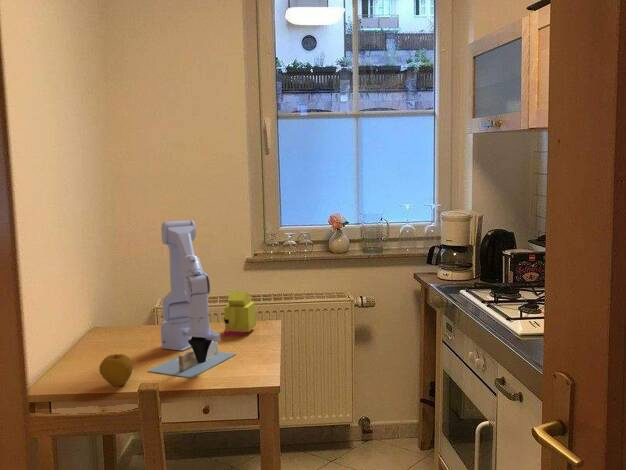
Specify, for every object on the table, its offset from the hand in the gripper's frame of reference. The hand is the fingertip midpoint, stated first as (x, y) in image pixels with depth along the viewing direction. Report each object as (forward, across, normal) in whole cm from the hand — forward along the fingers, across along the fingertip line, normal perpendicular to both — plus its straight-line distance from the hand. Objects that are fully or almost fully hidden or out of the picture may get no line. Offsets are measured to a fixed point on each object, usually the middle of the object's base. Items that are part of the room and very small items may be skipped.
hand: (201, 362), depth 188 cm
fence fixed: (+3, +8, -10) cm, 13 cm away
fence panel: (+3, +6, -1) cm, 7 cm away
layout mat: (+3, +9, -5) cm, 11 cm away
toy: (+3, +21, -38) cm, 43 cm away
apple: (+3, +13, +20) cm, 24 cm away
